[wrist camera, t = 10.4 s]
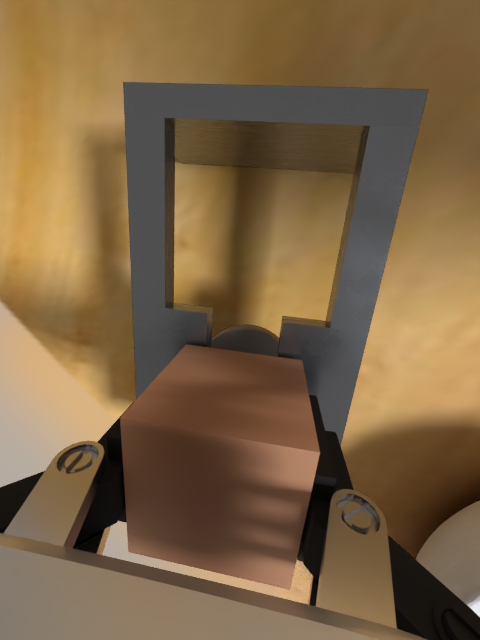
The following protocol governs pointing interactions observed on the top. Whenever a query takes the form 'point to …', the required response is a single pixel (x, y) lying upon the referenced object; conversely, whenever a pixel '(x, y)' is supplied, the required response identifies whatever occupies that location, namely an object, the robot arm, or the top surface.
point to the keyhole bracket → (278, 153)
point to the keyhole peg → (222, 459)
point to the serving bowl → (456, 555)
